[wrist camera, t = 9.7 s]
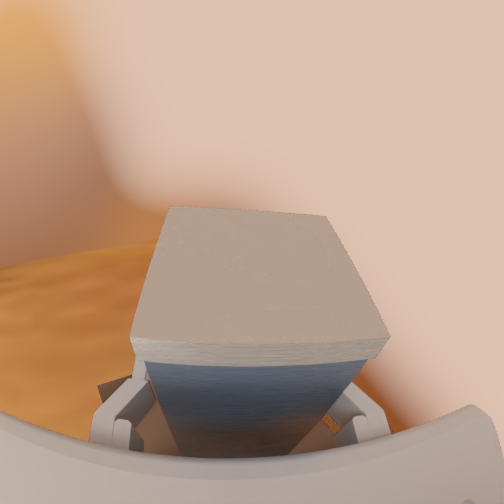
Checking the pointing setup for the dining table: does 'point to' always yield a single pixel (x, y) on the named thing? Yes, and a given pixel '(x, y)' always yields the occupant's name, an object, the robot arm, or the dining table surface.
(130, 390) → the robot arm
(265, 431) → the slate tin
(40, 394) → the dining table surface
